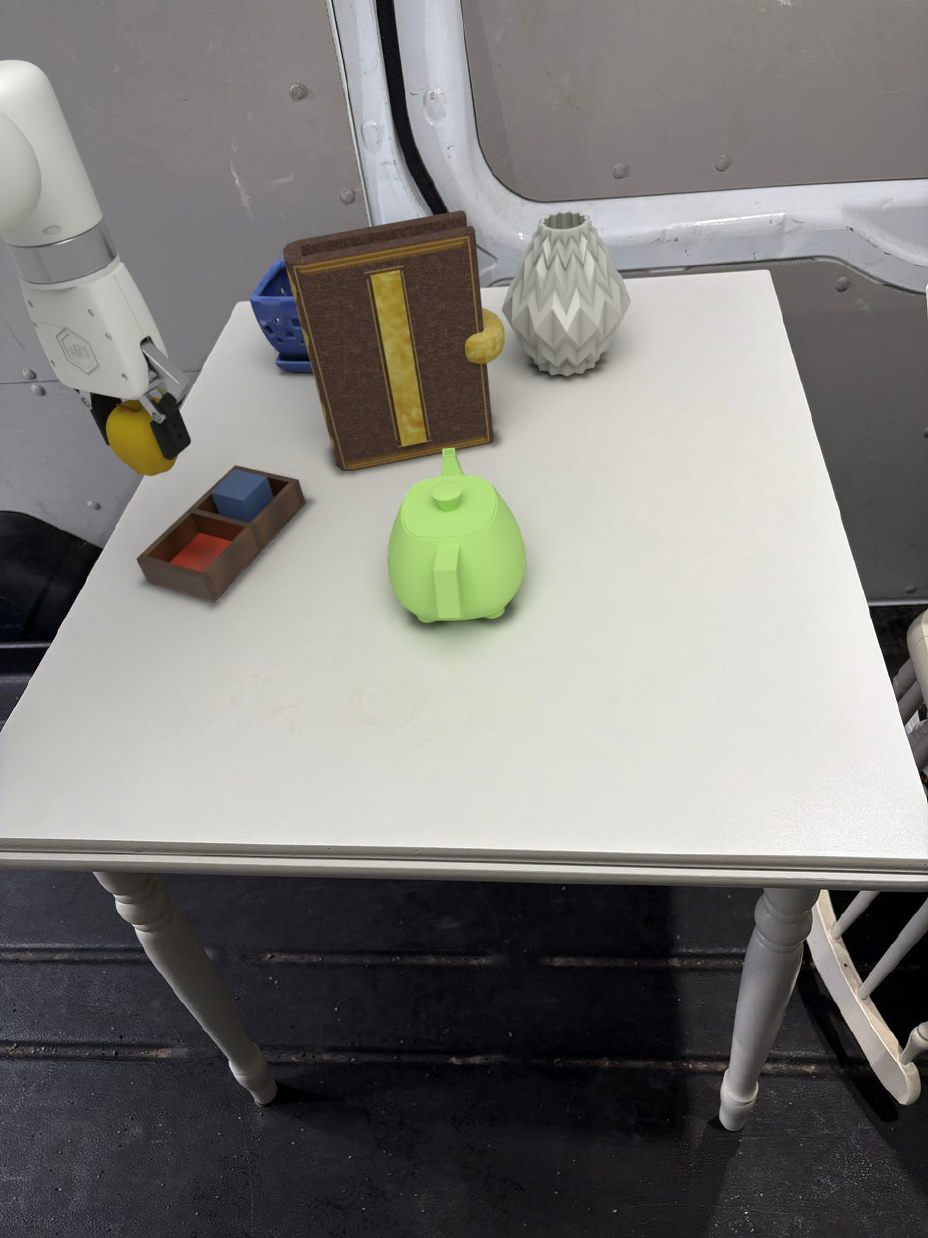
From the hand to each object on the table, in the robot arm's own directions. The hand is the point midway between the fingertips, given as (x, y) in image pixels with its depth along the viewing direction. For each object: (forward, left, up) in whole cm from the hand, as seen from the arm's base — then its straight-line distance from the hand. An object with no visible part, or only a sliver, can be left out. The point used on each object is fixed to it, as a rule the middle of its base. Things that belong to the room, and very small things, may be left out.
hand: (148, 443), depth 78 cm
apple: (0, 0, -3) cm, 3 cm away
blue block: (-1, +10, -16) cm, 19 cm away
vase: (+21, +52, -17) cm, 59 cm away
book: (+11, +29, -17) cm, 36 cm away
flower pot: (-13, +44, -17) cm, 49 cm away
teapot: (+27, +7, -17) cm, 33 cm away
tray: (-1, +5, -17) cm, 18 cm away
